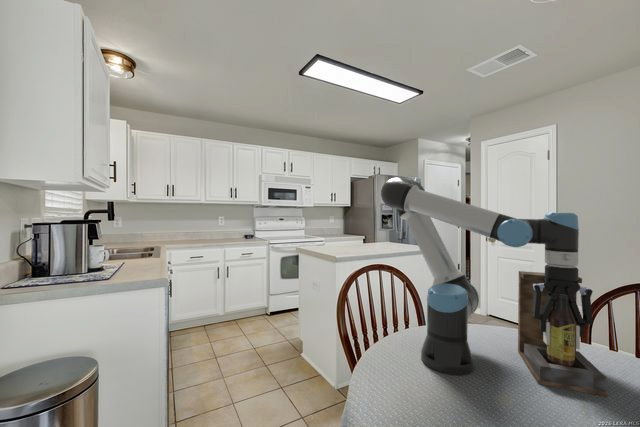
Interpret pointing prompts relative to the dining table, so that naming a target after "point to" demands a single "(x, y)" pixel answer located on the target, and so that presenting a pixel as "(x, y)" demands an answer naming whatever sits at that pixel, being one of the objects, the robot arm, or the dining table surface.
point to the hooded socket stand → (535, 349)
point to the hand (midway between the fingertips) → (560, 344)
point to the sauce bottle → (561, 333)
